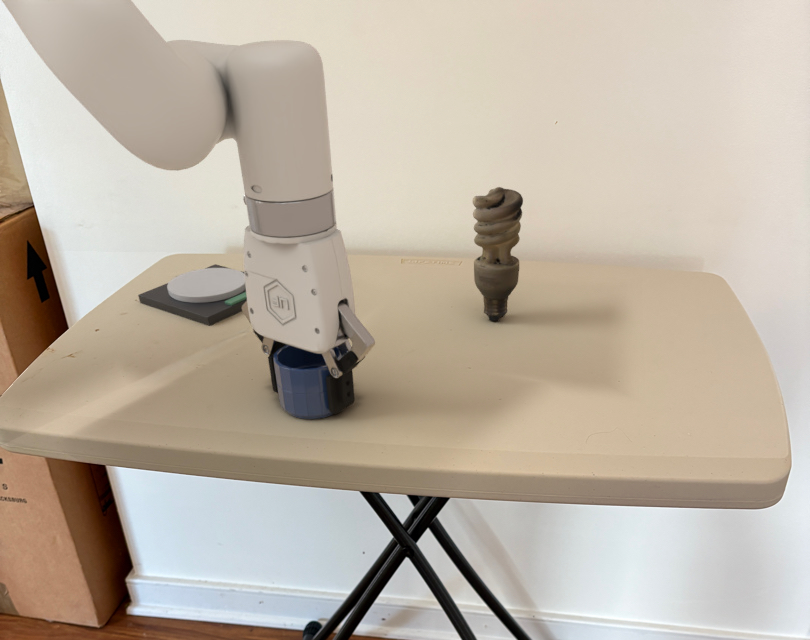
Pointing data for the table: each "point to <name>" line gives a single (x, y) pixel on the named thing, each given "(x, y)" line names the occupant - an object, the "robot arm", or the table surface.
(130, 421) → the table surface
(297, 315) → the robot arm
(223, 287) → the scale
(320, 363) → the cup
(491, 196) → the light bulb
